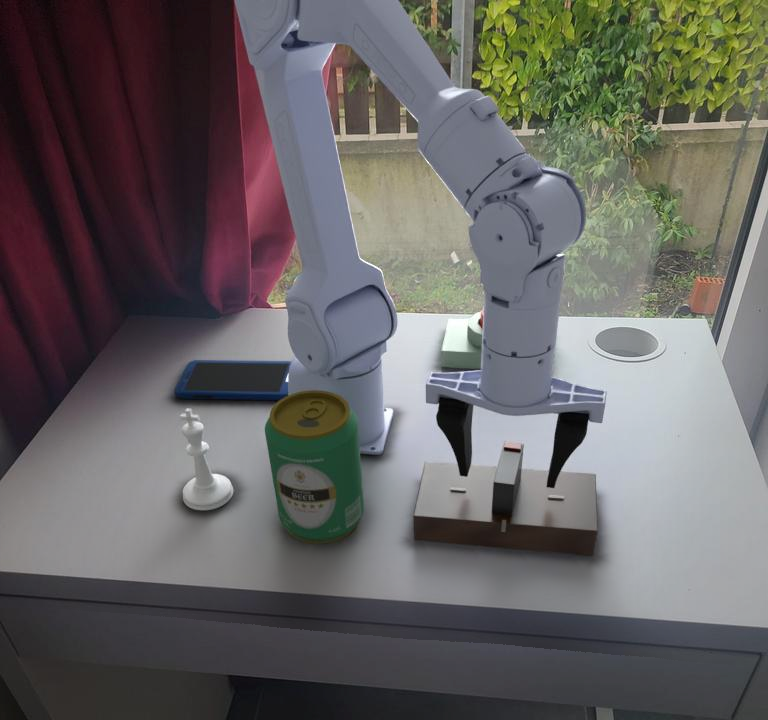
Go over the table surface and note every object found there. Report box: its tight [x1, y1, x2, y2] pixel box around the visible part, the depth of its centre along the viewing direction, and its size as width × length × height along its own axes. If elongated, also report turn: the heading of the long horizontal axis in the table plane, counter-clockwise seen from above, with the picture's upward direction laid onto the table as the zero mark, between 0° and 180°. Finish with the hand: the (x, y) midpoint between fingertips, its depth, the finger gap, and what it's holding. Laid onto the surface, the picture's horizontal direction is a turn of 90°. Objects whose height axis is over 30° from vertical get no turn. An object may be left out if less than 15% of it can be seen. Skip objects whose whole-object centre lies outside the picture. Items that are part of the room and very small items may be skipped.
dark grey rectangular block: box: [492, 440, 525, 516], centre depth 73 cm, size 6×2×4 cm, turn 165°
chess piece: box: [179, 407, 234, 511], centre depth 77 cm, size 5×5×10 cm
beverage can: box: [264, 390, 365, 545], centre depth 73 cm, size 8×8×12 cm
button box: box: [440, 311, 483, 370], centre depth 97 cm, size 12×8×4 cm, turn 80°
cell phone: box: [173, 359, 292, 401], centre depth 95 cm, size 7×14×1 cm, turn 85°
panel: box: [412, 460, 599, 557], centre depth 75 cm, size 16×10×3 cm, turn 80°
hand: (508, 475), depth 72 cm, fingers open, 7 cm apart
